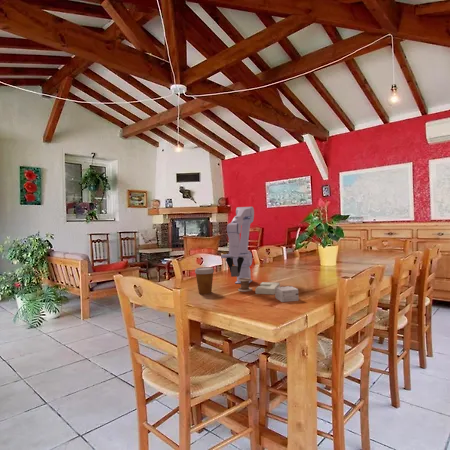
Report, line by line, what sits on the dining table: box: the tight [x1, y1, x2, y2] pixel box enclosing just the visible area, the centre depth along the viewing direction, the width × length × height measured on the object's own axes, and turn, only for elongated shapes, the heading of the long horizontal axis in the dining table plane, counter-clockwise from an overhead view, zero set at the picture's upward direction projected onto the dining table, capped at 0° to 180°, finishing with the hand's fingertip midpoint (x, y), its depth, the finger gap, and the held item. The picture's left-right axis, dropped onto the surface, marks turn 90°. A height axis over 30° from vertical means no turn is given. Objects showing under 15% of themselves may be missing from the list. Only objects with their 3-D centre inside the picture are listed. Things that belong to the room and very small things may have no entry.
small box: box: [274, 285, 300, 303], centre depth 145 cm, size 8×8×5 cm
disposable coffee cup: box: [194, 266, 215, 295], centre depth 163 cm, size 10×10×12 cm
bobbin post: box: [237, 278, 253, 292], centre depth 166 cm, size 7×7×6 cm
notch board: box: [254, 281, 281, 295], centre depth 163 cm, size 16×9×2 cm, turn 162°
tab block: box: [230, 265, 240, 278], centre depth 172 cm, size 4×4×5 cm
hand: (235, 272), depth 172 cm, fingers closed on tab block, 3 cm apart
